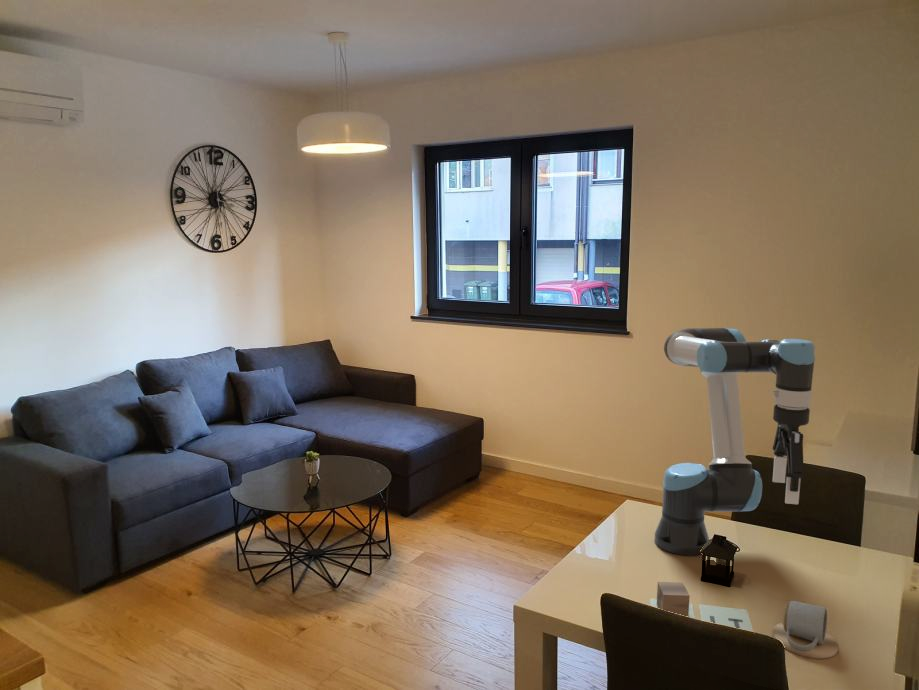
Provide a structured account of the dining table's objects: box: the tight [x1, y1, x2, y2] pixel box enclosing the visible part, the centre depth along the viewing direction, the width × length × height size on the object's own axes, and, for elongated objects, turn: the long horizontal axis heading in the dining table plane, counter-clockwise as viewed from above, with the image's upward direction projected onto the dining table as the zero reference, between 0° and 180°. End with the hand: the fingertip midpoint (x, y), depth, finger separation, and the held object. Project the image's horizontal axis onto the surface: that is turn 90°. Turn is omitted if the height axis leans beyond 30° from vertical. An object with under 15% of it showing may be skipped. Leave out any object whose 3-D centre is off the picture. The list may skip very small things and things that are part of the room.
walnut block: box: [656, 581, 690, 616], centre depth 161 cm, size 6×6×6 cm
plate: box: [649, 597, 696, 619], centre depth 162 cm, size 10×10×1 cm
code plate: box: [698, 603, 755, 633], centre depth 157 cm, size 14×11×1 cm
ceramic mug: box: [782, 600, 828, 651], centre depth 149 cm, size 11×8×8 cm
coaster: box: [772, 622, 839, 660], centre depth 150 cm, size 13×13×1 cm
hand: (784, 492), depth 161 cm, fingers open, 13 cm apart
